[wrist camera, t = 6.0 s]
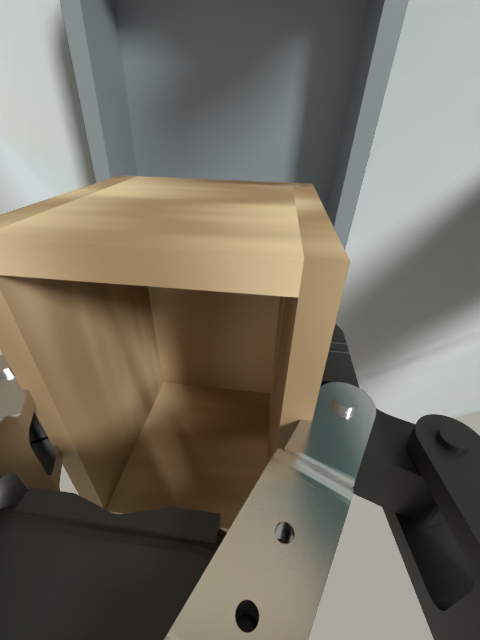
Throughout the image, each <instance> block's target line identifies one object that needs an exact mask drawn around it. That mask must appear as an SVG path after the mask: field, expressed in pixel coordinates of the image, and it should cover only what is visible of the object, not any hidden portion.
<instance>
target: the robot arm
mask: <svg viewBox="0 0 480 640" xmlns="http://www.w3.org/2000/svg"><path fill="white" fill-rule="evenodd" d="M35 406H36V403H35V401H34V399H33V398H32V396H31V394H30V392H29V390H27V389H22V388H21V386H20V384H19V383H18V381H17V379H16V377H15V375H14V373H13V371H12V370H11V368H10V366H9V364H8V362H7V360H6V358H5V357H4V355H1V356H0V640H308V638H309V635H310V632H311V629H312V625H313V622H314V619H315V616H316V613H317V609H318V606H319V603H320V600H321V596H322V593H323V590H324V587H325V584H326V580H327V577H328V574H329V571H330V567H331V564H332V561H333V558H334V554H335V551H336V548H337V545H338V542H339V538H340V535H341V532H342V529H343V526H344V522H345V519H346V516H347V513H348V509H349V506H350V503H351V500H352V496H353V494H356V495H358V496H360V497H362V498H365V499H367V500H369V501H371V502H373V503H375V504H377V505H379V506H382V507H383V510H384V513H385V515H386V517H387V520H388V523H389V525H390V528H391V530H392V533H393V536H394V538H395V541H396V543H397V546H398V548H399V551H400V553H401V556H402V559H403V561H404V564H405V566H406V569H407V572H408V574H409V577H410V579H411V582H412V584H413V587H414V589H415V592H416V595H417V597H418V599H419V602H420V605H421V607H422V610H423V613H424V615H425V617H426V620H427V623H428V625H429V628H430V630H431V633H432V635H433V638H434V640H480V436H479V435H478V434H477V433H476V432H475V431H473V430H472V429H471V428H469V427H468V426H466V425H465V424H463V423H461V422H459V421H457V420H455V419H453V418H450V417H447V416H443V415H435V414H432V415H426V416H423V417H421V418H420V419H419V420H418V421H417V423H416V425H415V424H412V423H410V422H407V421H404V420H401V419H398V418H395V417H393V416H390V415H388V414H385V413H383V412H381V411H380V410H378V409H376V407H375V404H374V402H373V400H372V399H371V398H370V396H369V395H367V394H366V393H365V392H364V391H363V390H361V389H360V388H359V386H358V382H357V379H356V375H355V372H354V368H353V365H352V361H351V358H350V354H349V351H348V347H347V345H346V340H345V337H344V333H343V331H342V330H341V329H340V328H339V327H338V326H337V325H336V324H335V327H334V331H333V335H332V339H331V344H330V348H329V352H328V356H327V361H326V365H325V369H324V373H323V377H322V382H321V386H320V390H319V394H318V398H317V403H316V407H315V411H314V415H313V419H312V421H310V420H300V422H299V424H298V426H297V427H296V429H295V431H294V433H293V434H292V436H291V438H290V440H289V441H288V443H287V445H286V446H285V448H284V449H282V448H279V449H278V450H277V451H276V452H275V453H274V455H273V456H272V458H271V460H270V461H269V463H268V465H267V466H266V468H265V470H264V471H263V473H262V475H261V476H260V478H259V480H258V482H257V483H256V485H255V487H254V488H253V490H252V492H251V493H250V495H249V497H248V498H247V500H246V502H245V504H244V505H243V507H242V509H241V510H240V512H239V514H238V515H237V517H236V519H235V520H234V522H233V524H232V526H231V527H230V529H229V531H228V532H226V531H224V530H222V529H221V518H220V514H218V513H211V512H204V511H197V510H190V509H182V508H175V507H168V508H161V509H154V510H146V511H139V512H132V513H125V514H115V513H112V512H110V511H108V510H106V509H104V508H102V507H100V506H98V505H96V504H94V503H92V502H91V501H89V500H87V499H85V498H83V497H81V496H79V495H77V494H74V493H68V492H61V491H60V488H59V482H60V474H61V468H62V461H63V455H62V453H61V451H60V449H59V447H58V446H56V445H52V444H51V442H50V440H49V438H48V436H47V435H46V433H45V431H44V429H43V427H42V425H41V423H40V422H39V420H38V418H37V416H36V414H35V412H34V410H35Z"/></svg>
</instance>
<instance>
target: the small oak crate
mask: <svg viewBox="0 0 480 640" xmlns="http://www.w3.org/2000/svg"><path fill="white" fill-rule="evenodd" d="M349 264H350V260H349V258H348V256H347V254H346V252H345V250H344V248H343V246H342V244H341V242H340V240H339V237H338V235H337V233H336V231H335V229H334V227H333V225H332V223H331V221H330V219H329V217H328V215H327V213H326V211H325V208H324V206H323V204H322V202H321V200H320V198H319V196H318V194H317V192H316V190H315V188H314V186H313V184H310V183H287V182H263V181H240V180H216V179H193V178H169V177H146V176H122V175H119V176H116V177H113V178H110V179H107V180H104V181H101V182H98V183H95V184H92V185H89V186H86V187H83V188H80V189H77V190H74V191H71V192H68V193H65V194H62V195H59V196H56V197H53V198H50V199H47V200H44V201H41V202H38V203H35V204H32V205H29V206H26V207H23V208H20V209H17V210H13V211H11V212H7V213H5V214H1V215H0V349H1V351H2V353H3V355H4V357H5V358H6V360H7V362H8V364H9V366H10V368H11V370H12V371H13V373H14V375H15V377H16V379H17V381H18V383H19V384H20V386H21V388H22V389H27V390H29V392H30V394H31V396H32V398H33V399H34V401H35V403H36V406H35V410H34V412H35V414H36V416H37V418H38V420H39V422H40V423H41V425H42V427H43V429H44V431H45V433H46V435H47V436H48V438H49V440H50V442H51V444H52V445H56V446H58V447H59V449H60V451H61V453H62V455H63V461H62V464H63V466H64V468H65V470H66V472H67V473H68V475H69V477H70V479H71V481H72V483H73V485H74V486H75V488H76V490H77V492H78V494H79V496H81V497H83V498H85V499H87V500H89V501H91V502H92V503H94V504H96V505H98V506H100V507H102V508H104V509H106V510H108V511H110V512H112V513H115V514H125V513H132V512H139V511H146V510H154V509H161V508H168V507H175V508H182V509H190V510H197V511H204V512H211V513H218V514H220V518H221V529H222V530H224V531H226V532H228V531H229V529H230V527H231V526H232V524H233V522H234V520H235V519H236V517H237V515H238V514H239V512H240V510H241V509H242V507H243V505H244V504H245V502H246V500H247V498H248V497H249V495H250V493H251V492H252V490H253V488H254V487H255V485H256V483H257V482H258V480H259V478H260V476H261V475H262V473H263V471H264V470H265V468H266V466H267V465H268V463H269V461H270V460H271V458H272V456H273V455H274V453H275V452H276V451H277V450H278V449H279V448H282V449H284V448H285V446H286V445H287V443H288V441H289V440H290V438H291V436H292V434H293V433H294V431H295V429H296V427H297V426H298V424H299V422H300V420H310V421H312V419H313V415H314V411H315V407H316V403H317V398H318V394H319V390H320V386H321V382H322V377H323V373H324V369H325V365H326V361H327V356H328V352H329V348H330V344H331V339H332V335H333V331H334V327H335V323H336V318H337V314H338V310H339V306H340V302H341V297H342V293H343V289H344V285H345V281H346V276H347V272H348V268H349Z"/></svg>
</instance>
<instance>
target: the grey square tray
mask: <svg viewBox="0 0 480 640" xmlns="http://www.w3.org/2000/svg"><path fill="white" fill-rule="evenodd" d="M60 3H61V8H62V13H63V18H64V23H65V28H66V33H67V39H68V44H69V49H70V54H71V59H72V64H73V69H74V74H75V79H76V84H77V89H78V94H79V99H80V104H81V109H82V114H83V119H84V125H85V130H86V135H87V140H88V145H89V150H90V155H91V160H92V165H93V170H94V175H95V180H96V183H98V182H101V181H104V180H107V179H110V178H113V177H116V176H119V175H122V176H146V177H169V178H193V179H216V180H240V181H263V182H287V183H310V184H313V186H314V188H315V190H316V192H317V194H318V196H319V198H320V200H321V202H322V204H323V206H324V208H325V211H326V213H327V215H328V217H329V219H330V221H331V223H332V225H333V227H334V229H335V231H336V233H337V235H338V237H339V240H340V242H341V244H342V246H343V248H344V250H345V248H346V244H347V240H348V236H349V232H350V228H351V224H352V220H353V216H354V212H355V209H356V205H357V201H358V197H359V193H360V189H361V185H362V181H363V177H364V173H365V169H366V165H367V161H368V158H369V154H370V150H371V146H372V142H373V138H374V134H375V130H376V126H377V122H378V118H379V114H380V110H381V106H382V103H383V99H384V95H385V91H386V87H387V83H388V79H389V75H390V71H391V67H392V63H393V59H394V55H395V51H396V48H397V44H398V40H399V36H400V32H401V28H402V24H403V20H404V16H405V12H406V8H407V4H408V0H60Z"/></svg>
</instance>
